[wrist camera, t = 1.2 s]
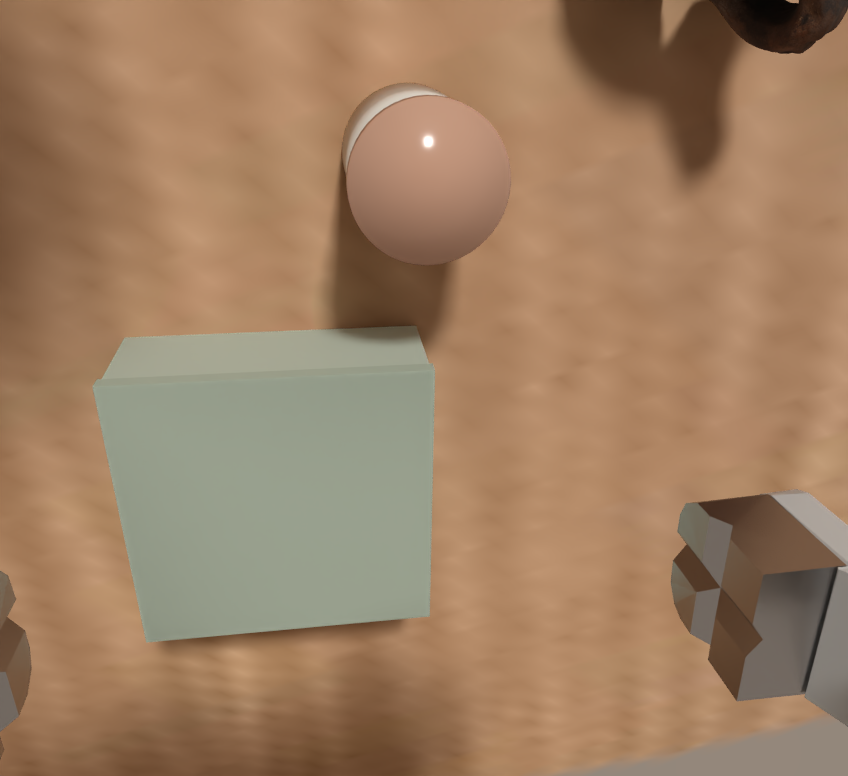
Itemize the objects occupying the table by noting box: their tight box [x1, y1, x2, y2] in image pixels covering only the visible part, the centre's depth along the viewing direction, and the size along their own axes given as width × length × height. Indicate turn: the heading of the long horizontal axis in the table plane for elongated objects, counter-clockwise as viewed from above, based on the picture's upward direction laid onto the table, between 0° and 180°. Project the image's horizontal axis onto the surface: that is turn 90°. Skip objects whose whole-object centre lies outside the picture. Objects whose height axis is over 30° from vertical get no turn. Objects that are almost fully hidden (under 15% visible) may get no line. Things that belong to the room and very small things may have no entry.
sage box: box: [93, 326, 435, 642], centre depth 32 cm, size 12×12×5 cm
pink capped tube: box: [342, 83, 511, 265], centre depth 26 cm, size 5×5×6 cm
